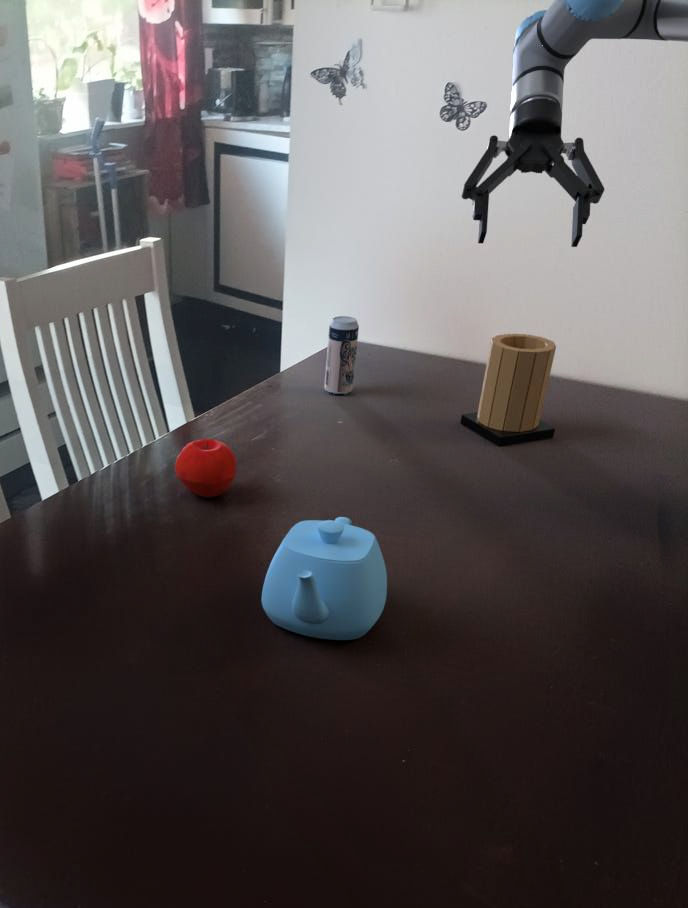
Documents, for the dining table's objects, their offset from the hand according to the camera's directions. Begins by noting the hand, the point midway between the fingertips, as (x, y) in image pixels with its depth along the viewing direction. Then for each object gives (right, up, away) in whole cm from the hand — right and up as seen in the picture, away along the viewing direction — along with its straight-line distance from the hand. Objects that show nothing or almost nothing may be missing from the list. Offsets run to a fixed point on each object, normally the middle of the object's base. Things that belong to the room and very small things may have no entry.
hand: (529, 239), depth 134 cm
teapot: (-36, -58, -39) cm, 78 cm away
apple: (-48, -40, -13) cm, 64 cm away
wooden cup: (-1, -26, +5) cm, 26 cm away
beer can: (-25, -17, +21) cm, 37 cm away
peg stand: (-1, -27, +6) cm, 28 cm away
